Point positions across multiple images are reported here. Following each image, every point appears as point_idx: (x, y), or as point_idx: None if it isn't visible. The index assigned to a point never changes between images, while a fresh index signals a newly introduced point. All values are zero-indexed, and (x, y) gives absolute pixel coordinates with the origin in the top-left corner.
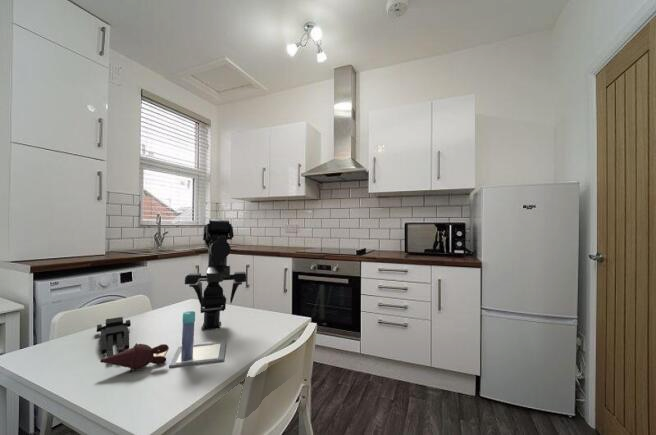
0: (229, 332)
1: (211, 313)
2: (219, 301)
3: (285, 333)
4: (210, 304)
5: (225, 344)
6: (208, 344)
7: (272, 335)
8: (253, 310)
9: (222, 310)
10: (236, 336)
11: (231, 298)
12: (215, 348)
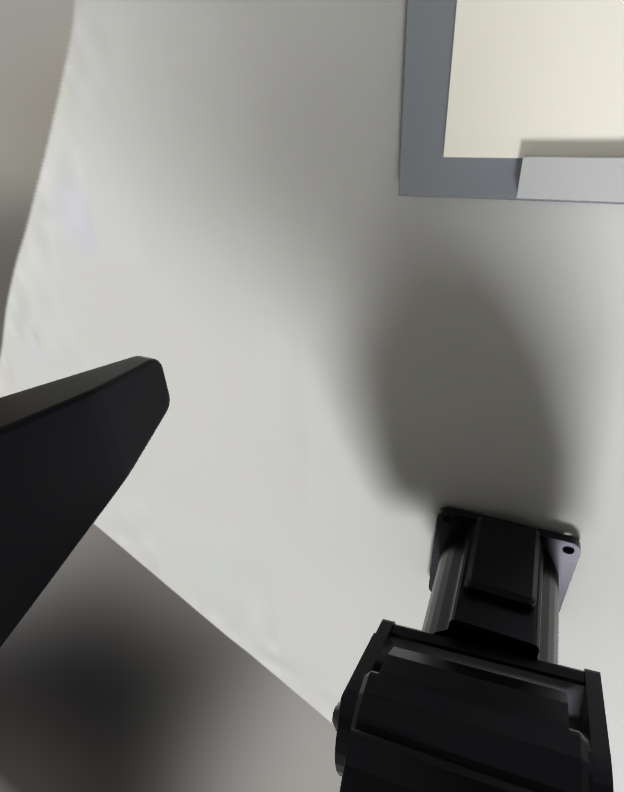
0: (374, 415)
1: (493, 625)
2: (397, 696)
3: (32, 261)
4: (499, 702)
5: (402, 178)
6: (563, 157)
7: (96, 255)
8: (252, 645)
9: (395, 625)
10: (322, 324)
11: (72, 391)
12: (498, 34)
